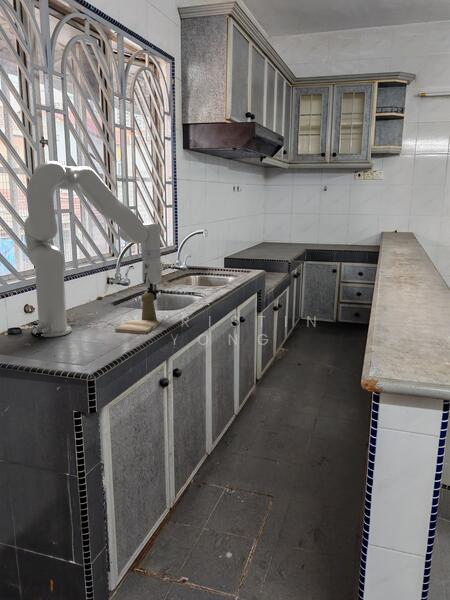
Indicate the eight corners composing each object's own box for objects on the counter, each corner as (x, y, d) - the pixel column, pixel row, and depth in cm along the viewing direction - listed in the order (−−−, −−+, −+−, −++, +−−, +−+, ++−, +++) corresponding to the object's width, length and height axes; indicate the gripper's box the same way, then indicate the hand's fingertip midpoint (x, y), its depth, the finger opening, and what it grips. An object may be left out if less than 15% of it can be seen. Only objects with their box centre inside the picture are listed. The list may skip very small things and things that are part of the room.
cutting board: (146, 334, 177) (146, 330, 176) (115, 331, 179) (115, 328, 179) (159, 324, 190) (159, 321, 190) (131, 322, 193) (131, 319, 192)
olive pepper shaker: (145, 315, 198) (143, 290, 194) (159, 317, 197) (157, 292, 193) (138, 321, 193) (137, 295, 189) (152, 323, 191) (151, 297, 187)
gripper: (153, 257, 184) (154, 304, 188) (166, 252, 199) (167, 296, 203) (134, 256, 186) (136, 303, 190) (148, 251, 200) (150, 295, 204)
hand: (152, 299), depth 196 cm, fingers closed
